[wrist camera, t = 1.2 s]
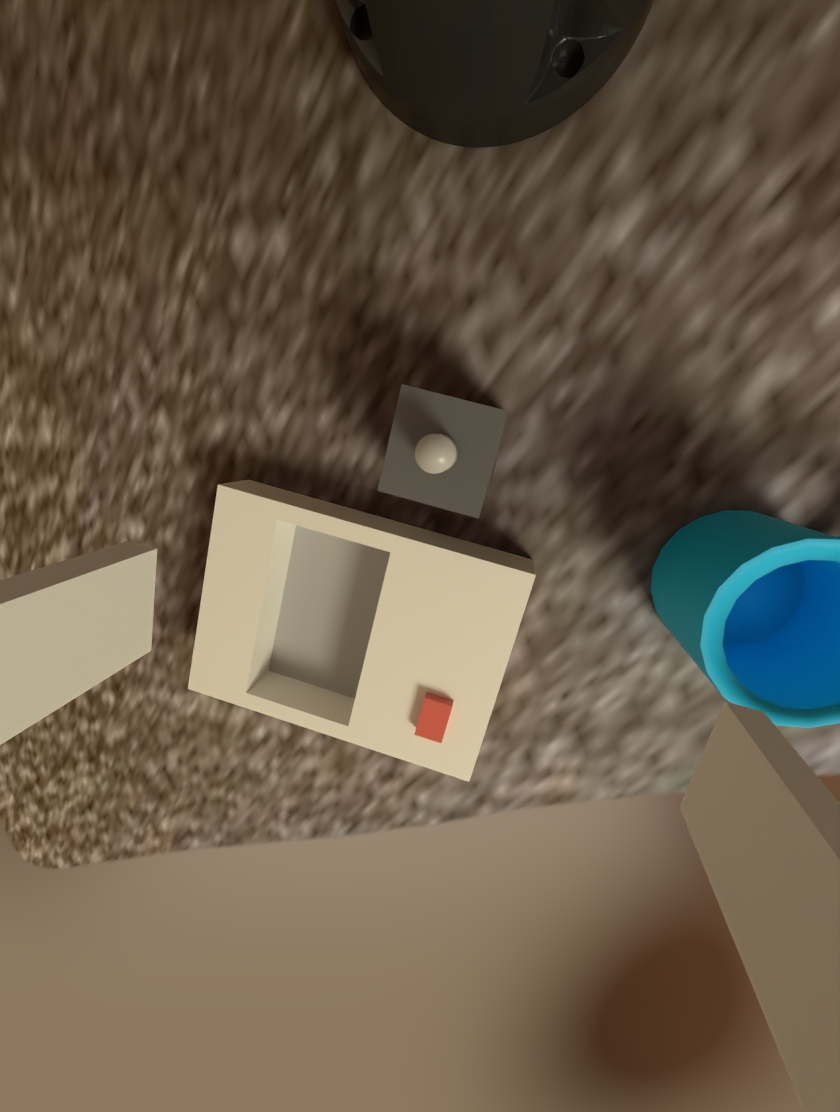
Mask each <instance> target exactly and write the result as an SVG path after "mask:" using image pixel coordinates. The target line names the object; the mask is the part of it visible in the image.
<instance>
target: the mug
mask: <svg viewBox="0 0 840 1112" xmlns="http://www.w3.org/2000/svg"><path fill="white" fill-rule="evenodd" d="M651 594H652V598H653V602H654V606H655V610H656V612H657V614H658V615H659V617H660V618H661V620H662V621H663V623H664V624H665V625H666V627H667V628H668V630H669V631H670V632H671V633H672V635H673V636H674V637H675V638H676V640H677V641H678V642H679V643H680V644H681V646H682V647H683V648H684V649H685V651H686V652H687V653H688V654H689V655H690V657H691V658H692V659H693V660H694V662H695V663H696V664H697V665H698V667H699V668H700V669H701V670H702V671H703V673H704V674H705V675H706V676H707V678H708V679H709V680H710V681H711V682H712V684H713V685H714V686H715V687H716V689H717V690H718V691H719V692H720V694H721V695H722V696H723V697H724V698H726V699H727V700H728V701H730V702H731V703H733V704H737V705H741V706H745V707H748V708H752V709H756V710H759V711H763V712H764V713H765V714H766V715H767V717H768V718H769V719H770V720H771V721H772V723H773V724H774V725H779V726H791V727H804V728H813V727H819V726H824V725H830V724H836V723H840V536H839V537H835V536H831V535H828V534H825V533H822V532H818V531H815V530H812V529H809V528H805V527H802V526H799V525H796V524H793V523H789V522H786V521H783V520H780V519H776V518H773V517H770V516H767V515H763V514H760V513H757V512H754V511H740V510H724V511H721V512H717V513H713V514H710V515H706V516H702V517H699V518H698V519H696V520H694V521H693V522H691V523H690V524H688V525H686V526H685V527H683V528H681V529H680V530H678V531H677V532H676V533H675V535H674V536H673V537H672V538H671V539H670V540H669V541H668V542H667V543H666V544H665V546H664V547H663V548H662V550H661V552H660V554H659V556H658V558H657V560H656V563H655V565H654V567H653V571H652V581H651Z"/></svg>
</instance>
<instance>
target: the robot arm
mask: <svg viewBox="0 0 840 1112" xmlns="http://www.w3.org/2000/svg"><path fill="white" fill-rule="evenodd" d="M334 1H335V5H336V8H337V12H338V15H339V18H340V21H341V24H342V26H343V29H344V32H345V34H346V37H347V39H348V42H349V44H350V47H351V49H352V52H353V54H354V56H355V59H356V61H357V63H358V65H359V68H360V70H361V72H362V73H363V75H364V77H365V79H366V81H367V82H368V84H369V85H370V87H371V88H372V90H373V91H374V93H375V94H376V95H377V97H378V98H379V99H380V100H381V102H382V103H383V104H384V105H385V106H386V107H387V108H388V109H389V110H390V111H391V112H392V113H393V114H394V115H395V116H396V117H398V118H399V119H400V120H401V121H402V122H404V123H405V124H407V125H408V126H409V127H411V128H412V129H414V130H416V131H418V132H419V133H421V134H423V135H425V136H428V137H430V138H432V139H435V140H438V141H441V142H444V143H448V144H452V145H457V146H463V147H494V146H501V145H506V144H511V143H515V142H518V141H522V140H525V139H527V138H530V137H533V136H535V135H537V134H540V133H542V132H544V131H546V130H548V129H550V128H552V127H553V126H555V125H557V124H558V123H560V122H562V121H563V120H565V119H566V118H568V117H569V116H570V115H572V114H573V113H574V112H576V111H577V110H578V109H579V108H581V107H582V106H583V105H584V104H585V103H587V102H588V101H589V100H590V99H591V98H592V97H593V96H594V95H595V94H596V93H597V92H598V91H599V90H600V89H601V88H602V87H603V85H604V84H605V83H606V82H607V81H608V80H609V79H610V77H611V76H612V75H613V74H614V72H615V71H616V70H617V68H618V67H619V66H620V64H621V63H622V61H623V60H624V59H625V57H626V55H627V54H628V52H629V51H630V49H631V47H632V46H633V44H634V42H635V40H636V39H637V37H638V35H639V33H640V31H641V29H642V27H643V25H644V23H645V20H646V18H647V16H648V13H649V11H650V8H651V6H652V3H653V0H334ZM156 560H157V548H154V547H150V546H146V545H142V544H139V543H135V542H131V541H126V542H123V543H120V544H117V545H113V546H110V547H107V548H104V549H100V550H97V551H94V552H91V553H88V554H84V555H81V556H78V557H75V558H71V559H68V560H65V561H62V562H58V563H55V564H52V565H49V566H46V567H42V568H39V569H36V570H33V571H29V572H26V573H23V574H20V575H17V576H13V577H10V578H7V579H4V580H0V745H1V744H2V743H4V742H6V741H7V740H9V739H10V738H12V737H14V736H15V735H17V734H18V733H20V732H22V731H23V730H25V729H26V728H28V727H30V726H31V725H33V724H34V723H36V722H38V721H39V720H41V719H42V718H44V717H46V716H47V715H49V714H50V713H52V712H54V711H55V710H57V709H58V708H60V707H62V706H63V705H65V704H66V703H68V702H70V701H71V700H73V699H74V698H76V697H78V696H79V695H81V694H82V693H84V692H86V691H87V690H89V689H90V688H92V687H94V686H95V685H97V684H98V683H100V682H102V681H103V680H105V679H106V678H108V677H110V676H111V675H113V674H114V673H116V672H118V671H119V670H121V669H122V668H124V667H126V666H127V665H129V664H130V663H132V662H134V661H135V660H137V659H138V658H140V657H142V656H143V655H145V654H146V653H148V652H150V651H151V642H152V625H153V609H154V593H155V576H156ZM680 810H681V812H682V814H683V817H684V819H685V821H686V824H687V826H688V829H689V832H690V834H691V837H692V839H693V841H694V844H695V846H696V849H697V851H698V854H699V856H700V859H701V861H702V863H703V866H704V868H705V871H706V873H707V876H708V878H709V881H710V883H711V886H712V888H713V891H714V893H715V895H716V898H717V900H718V903H719V905H720V908H721V910H722V913H723V915H724V918H725V920H726V922H727V925H728V927H729V930H730V932H731V934H732V937H733V940H734V942H735V944H736V947H737V949H738V952H739V954H740V957H741V959H742V962H743V964H744V967H745V969H746V971H747V974H748V976H749V978H750V981H751V984H752V986H753V988H754V991H755V993H756V996H757V998H758V1001H759V1003H760V1006H761V1008H762V1011H763V1013H764V1016H765V1018H766V1020H767V1023H768V1025H769V1027H770V1030H771V1033H772V1035H773V1038H774V1040H775V1042H776V1045H777V1047H778V1050H779V1052H780V1055H781V1057H782V1060H783V1062H784V1065H785V1067H786V1069H787V1072H788V1074H789V1077H790V1079H791V1081H792V1084H793V1087H794V1089H795V1091H796V1094H797V1096H798V1099H799V1101H800V1103H801V1106H802V1108H803V1111H804V1112H840V804H839V802H838V801H837V800H836V799H835V798H834V796H833V795H832V794H831V793H830V791H829V790H828V789H827V788H826V787H825V785H824V784H823V783H822V782H821V781H820V779H819V778H818V777H817V776H816V775H815V773H814V772H813V771H812V770H811V768H810V767H809V766H808V765H807V764H806V762H805V761H804V760H803V759H802V758H801V756H800V755H799V754H798V753H797V752H796V750H795V749H794V748H793V747H792V746H791V744H790V743H789V742H788V741H787V740H786V738H785V737H784V736H783V735H782V733H781V732H780V731H779V730H778V729H777V727H776V726H775V725H774V724H773V723H772V721H771V720H770V719H769V718H768V717H767V715H766V714H765V713H764V712H763V711H759V710H756V709H752V708H748V707H745V706H741V705H737V704H733V703H730V702H726V701H725V702H724V705H723V707H722V709H721V712H720V714H719V716H718V719H717V721H716V723H715V726H714V728H713V730H712V733H711V735H710V737H709V740H708V742H707V744H706V747H705V749H704V751H703V754H702V756H701V758H700V760H699V763H698V765H697V767H696V770H695V772H694V774H693V777H692V779H691V781H690V784H689V786H688V788H687V791H686V793H685V795H684V798H683V800H682V802H681V805H680Z"/></svg>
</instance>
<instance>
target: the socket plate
mask: <svg viewBox="0 0 840 1112" xmlns="http://www.w3.org/2000/svg"><path fill="white" fill-rule="evenodd" d="M535 576H536V573H535V567H534V562H533V560H532V559H529V558H525V557H522V556H518V555H515V554H511V553H508V552H504V551H500V550H497V549H493V548H490V547H486V546H483V545H479V544H476V543H472V542H469V541H465V540H461V539H458V538H454V537H451V536H447V535H444V534H440V533H437V532H433V531H429V530H426V529H422V528H419V527H415V526H412V525H408V524H405V523H401V522H398V521H394V520H390V519H387V518H383V517H380V516H376V515H373V514H369V513H366V512H362V511H358V510H355V509H351V508H348V507H344V506H341V505H337V504H334V503H330V502H327V501H323V500H319V499H316V498H312V497H309V496H305V495H302V494H298V493H295V492H291V491H287V490H284V489H280V488H277V487H273V486H270V485H266V484H263V483H259V482H256V481H252V480H242V481H236V482H230V483H224V484H218V487H217V494H216V501H215V508H214V515H213V521H212V528H211V535H210V542H209V549H208V555H207V562H206V569H205V576H204V583H203V590H202V596H201V603H200V610H199V617H198V624H197V631H196V637H195V644H194V651H193V658H192V665H191V672H190V678H189V685H188V689H190V690H193V691H196V692H199V693H202V694H205V695H208V696H211V697H214V698H217V699H220V700H223V701H226V702H229V703H233V704H236V705H239V706H242V707H245V708H248V709H251V710H254V711H257V712H260V713H263V714H266V715H269V716H272V717H275V718H278V719H281V720H284V721H287V722H290V723H293V724H296V725H299V726H302V727H305V728H308V729H311V730H314V731H317V732H320V733H323V734H326V735H329V736H332V737H335V738H338V739H341V740H344V741H347V742H350V743H353V744H357V745H360V746H363V747H366V748H369V749H372V750H375V751H378V752H381V753H384V754H387V755H390V756H393V757H396V758H399V759H402V760H405V761H408V762H411V763H414V764H417V765H420V766H423V767H426V768H429V769H432V770H435V771H438V772H441V773H444V774H447V775H450V776H453V777H456V778H459V779H462V780H465V781H468V782H469V781H470V778H471V775H472V772H473V769H474V766H475V762H476V759H477V756H478V753H479V750H480V747H481V744H482V741H483V738H484V734H485V731H486V728H487V725H488V722H489V719H490V716H491V713H492V710H493V707H494V703H495V700H496V697H497V694H498V691H499V688H500V685H501V682H502V679H503V676H504V672H505V669H506V666H507V663H508V660H509V657H510V654H511V651H512V648H513V644H514V641H515V638H516V635H517V632H518V629H519V626H520V623H521V620H522V617H523V613H524V610H525V607H526V604H527V601H528V598H529V595H530V592H531V589H532V586H533V582H534V579H535Z"/></svg>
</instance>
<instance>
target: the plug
mask: <svg viewBox="0 0 840 1112" xmlns="http://www.w3.org/2000/svg"><path fill="white" fill-rule="evenodd" d="M508 419H509V411H506V410H502V409H498V408H494V407H491V406H487V405H483V404H479V403H475V402H471V401H467V400H463V399H459V398H455V397H451V396H447V395H443V394H439V393H435V392H431V391H427V390H423V389H419V388H415V387H411V386H408V385H404V384H401V389H400V393H399V397H398V402H397V406H396V411H395V415H394V419H393V424H392V428H391V433H390V437H389V441H388V446H387V450H386V455H385V459H384V463H383V468H382V472H381V476H380V481H379V485H378V490H377V491H380V492H384V493H387V494H391V495H395V496H398V497H402V498H405V499H409V500H413V501H416V502H420V503H424V504H427V505H431V506H434V507H438V508H442V509H445V510H449V511H453V512H456V513H460V514H463V515H467V516H471V517H474V518H479V516H480V513H481V511H482V508H483V505H484V503H485V500H486V497H487V493H488V490H489V486H490V483H491V479H492V476H493V472H494V469H495V465H496V462H497V458H498V455H499V451H500V448H501V444H502V440H503V437H504V433H505V430H506V426H507V423H508Z"/></svg>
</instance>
